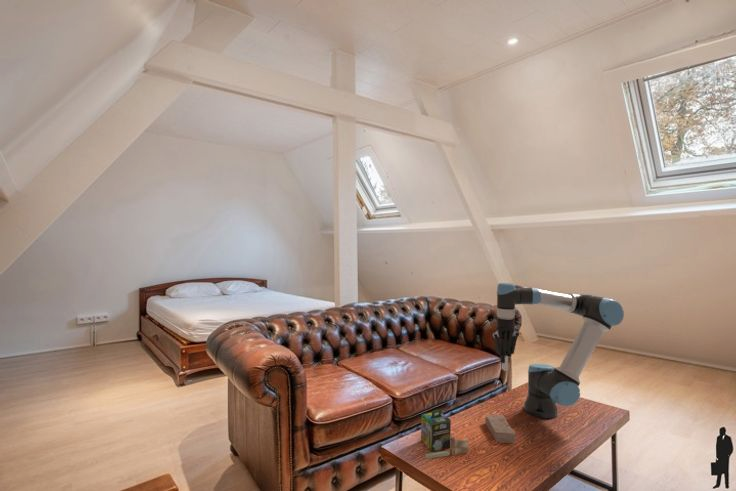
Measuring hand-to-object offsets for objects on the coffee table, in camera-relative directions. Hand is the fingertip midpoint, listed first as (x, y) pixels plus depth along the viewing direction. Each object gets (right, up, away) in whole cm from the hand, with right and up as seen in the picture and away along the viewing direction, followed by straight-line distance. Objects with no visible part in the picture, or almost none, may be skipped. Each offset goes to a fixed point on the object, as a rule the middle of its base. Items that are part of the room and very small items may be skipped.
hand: (504, 369), depth 166 cm
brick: (-4, -27, -4) cm, 27 cm away
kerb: (-35, -26, -22) cm, 49 cm away
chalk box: (-34, -26, -14) cm, 45 cm away
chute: (-28, -26, -12) cm, 40 cm away
